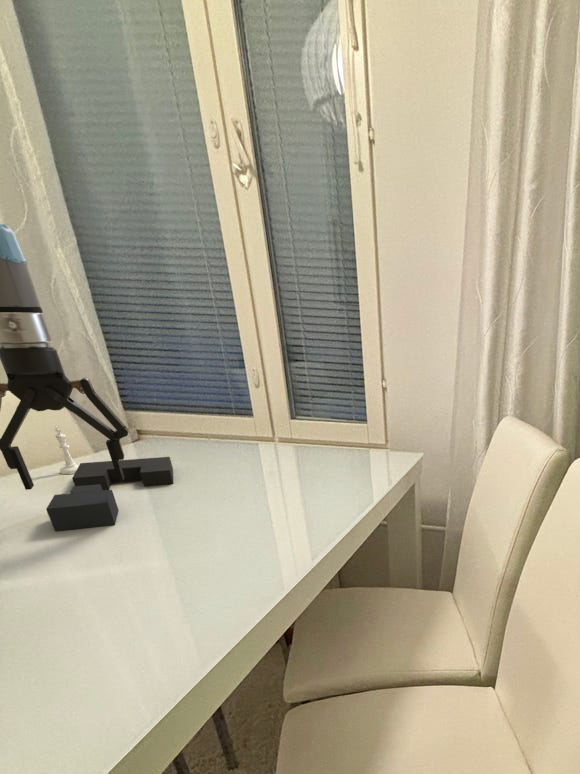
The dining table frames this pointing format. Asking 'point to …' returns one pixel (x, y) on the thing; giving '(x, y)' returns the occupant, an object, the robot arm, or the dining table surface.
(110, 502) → the pad
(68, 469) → the chess piece
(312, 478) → the dining table surface
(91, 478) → the notch mat
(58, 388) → the robot arm
